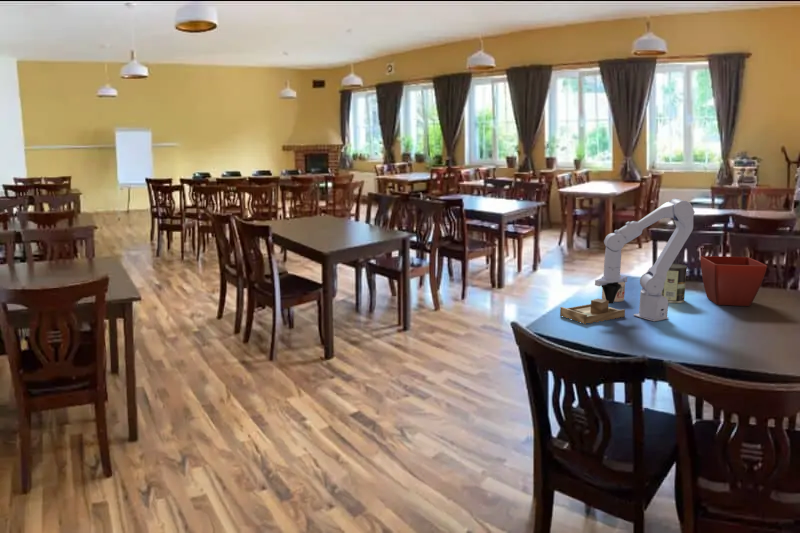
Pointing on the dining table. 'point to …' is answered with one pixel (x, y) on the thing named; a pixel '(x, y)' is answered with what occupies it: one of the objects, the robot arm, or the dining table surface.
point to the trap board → (590, 314)
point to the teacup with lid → (619, 294)
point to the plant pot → (731, 279)
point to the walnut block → (599, 306)
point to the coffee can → (675, 283)
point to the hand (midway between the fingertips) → (609, 303)
